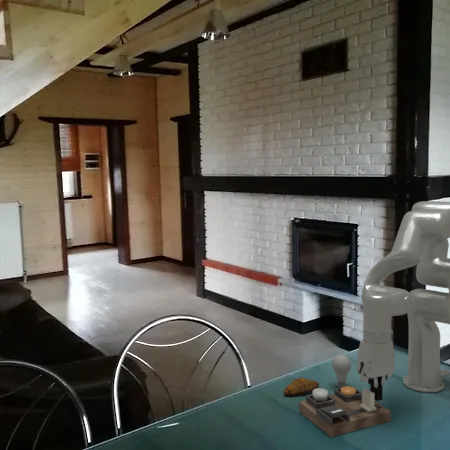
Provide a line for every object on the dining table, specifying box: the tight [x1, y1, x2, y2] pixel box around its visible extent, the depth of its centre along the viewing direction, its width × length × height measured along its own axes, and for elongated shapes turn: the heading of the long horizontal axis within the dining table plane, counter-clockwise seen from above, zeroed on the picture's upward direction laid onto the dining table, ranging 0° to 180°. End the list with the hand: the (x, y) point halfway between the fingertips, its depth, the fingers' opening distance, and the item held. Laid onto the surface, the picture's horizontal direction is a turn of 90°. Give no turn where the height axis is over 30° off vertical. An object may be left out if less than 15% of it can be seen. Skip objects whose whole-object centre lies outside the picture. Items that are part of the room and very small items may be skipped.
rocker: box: [320, 405, 346, 418], centre depth 138 cm, size 4×6×1 cm
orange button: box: [341, 385, 357, 396], centre depth 150 cm, size 4×4×2 cm
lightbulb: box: [331, 354, 352, 388], centre depth 163 cm, size 6×6×11 cm
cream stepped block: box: [360, 388, 376, 412], centre depth 142 cm, size 3×4×5 cm
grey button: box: [312, 387, 329, 401], centre depth 146 cm, size 4×4×2 cm
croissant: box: [283, 377, 320, 397], centre depth 161 cm, size 14×7×5 cm, turn 119°
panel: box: [298, 385, 392, 438], centre depth 145 cm, size 20×16×5 cm
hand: (376, 398), depth 143 cm, fingers closed
